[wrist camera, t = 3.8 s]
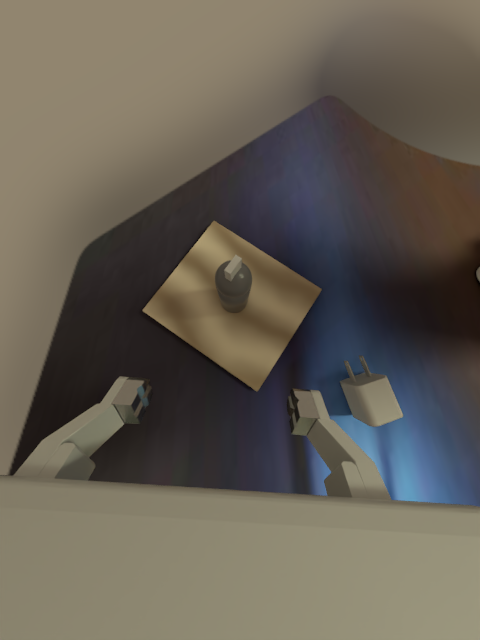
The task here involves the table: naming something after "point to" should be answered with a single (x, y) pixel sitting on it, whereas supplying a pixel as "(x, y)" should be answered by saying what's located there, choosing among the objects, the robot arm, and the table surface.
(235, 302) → the dark bottle
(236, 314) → the birch board
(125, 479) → the table surface
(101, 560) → the robot arm
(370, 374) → the usb wall charger
